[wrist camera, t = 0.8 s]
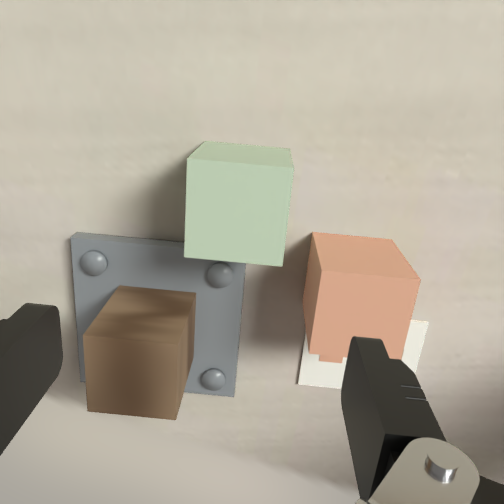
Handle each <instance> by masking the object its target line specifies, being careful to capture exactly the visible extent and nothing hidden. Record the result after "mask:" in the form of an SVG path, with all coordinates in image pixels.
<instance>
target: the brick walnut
mask: <svg viewBox="0 0 504 504" xmlns="http://www.w3.org/2000/svg"><path fill="white" fill-rule="evenodd" d="M195 312H196V293H194V292H184V291H174V290H163V289H153V288H143V287H132V286H122V285H119V287H118V288H117V289H116V291H115V292H114V293H113V295H112V296H111V298H110V299H109V300H108V302H107V303H106V304H105V306H104V307H103V308H102V310H101V311H100V313H99V314H98V315H97V317H96V318H95V319H94V321H93V322H92V323H91V325H90V326H89V327H88V329H87V330H86V332H85V333H84V334H83V347H84V363H85V378H86V394H87V409H88V411H89V412H99V413H109V414H119V415H129V416H140V417H150V418H160V419H170V420H176V418H177V414H178V411H179V407H180V404H181V400H182V396H183V393H184V389H185V386H186V382H187V379H188V375H189V372H190V368H191V365H192V361H193V358H194V335H195Z"/></svg>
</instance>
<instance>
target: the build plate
mask: <svg viewBox="0 0 504 504" xmlns="http://www.w3.org/2000/svg"><path fill="white" fill-rule="evenodd" d="M184 243H185V242H175V241H164V240H154V239H143V238H133V237H122V236H112V235H101V234H91V233H80V232H77V233H75V234H74V235H73V236H72V237H71V251H72V266H73V280H74V294H75V309H76V323H77V337H78V352H79V366H80V380H81V382H86V378H85V363H84V347H83V334H84V333H85V332H86V330H87V329H88V327H89V326H90V325H91V323H92V322H93V321H94V319H95V318H96V317H97V315H98V314H99V313H100V311H101V310H102V308H103V307H104V306H105V304H106V303H107V302H108V300H109V299H110V298H111V296H112V295H113V293H114V292H115V291H116V289H117V288H118V287H119V285H122V286H132V287H143V288H153V289H163V290H174V291H184V292H194V293H196V312H195V335H194V358H193V361H192V365H191V368H190V372H189V375H188V379H187V382H186V386H185V389H184V392H188V393H198V394H208V395H218V396H228V397H234V393H235V383H236V372H237V360H238V348H239V337H240V325H241V314H242V302H243V291H244V279H245V268H246V263H239V262H229V261H219V260H208V259H198V258H187V257H184Z"/></svg>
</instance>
